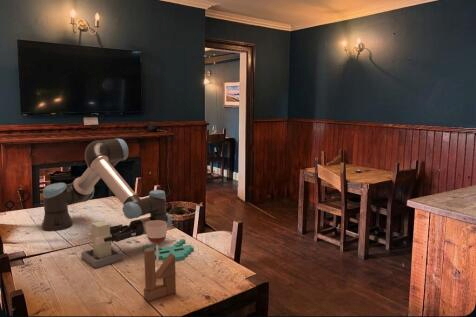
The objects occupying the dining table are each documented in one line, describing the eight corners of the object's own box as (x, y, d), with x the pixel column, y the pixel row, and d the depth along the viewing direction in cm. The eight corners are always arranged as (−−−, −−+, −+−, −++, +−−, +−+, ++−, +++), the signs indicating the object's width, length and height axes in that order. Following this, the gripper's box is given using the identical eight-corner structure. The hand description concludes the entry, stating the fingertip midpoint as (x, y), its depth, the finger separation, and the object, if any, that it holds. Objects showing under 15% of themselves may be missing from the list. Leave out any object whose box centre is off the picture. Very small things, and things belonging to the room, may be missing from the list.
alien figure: (143, 250, 180) (154, 266, 162) (143, 245, 179) (154, 261, 162) (184, 243, 189) (199, 257, 171) (183, 238, 188) (199, 252, 171)
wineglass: (159, 277, 151) (157, 227, 148) (143, 271, 156) (141, 224, 153) (172, 269, 158) (171, 222, 155) (157, 264, 162) (155, 219, 160)
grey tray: (81, 258, 169) (81, 252, 169) (108, 251, 178) (108, 244, 177) (95, 268, 159) (95, 261, 158) (123, 260, 167) (123, 253, 167)
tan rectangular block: (93, 254, 169) (91, 223, 167) (104, 251, 172) (102, 220, 170) (100, 258, 164) (98, 226, 162) (111, 255, 167) (109, 224, 165)
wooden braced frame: (176, 293, 139) (175, 245, 136) (148, 302, 132) (146, 252, 130) (171, 289, 141) (170, 242, 139) (143, 297, 135) (141, 249, 133)
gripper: (152, 240, 173) (102, 254, 157) (130, 229, 187) (83, 241, 172) (151, 224, 172) (101, 236, 156) (129, 214, 186) (82, 225, 171)
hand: (92, 239), depth 164 cm, fingers closed on tan rectangular block, 7 cm apart
